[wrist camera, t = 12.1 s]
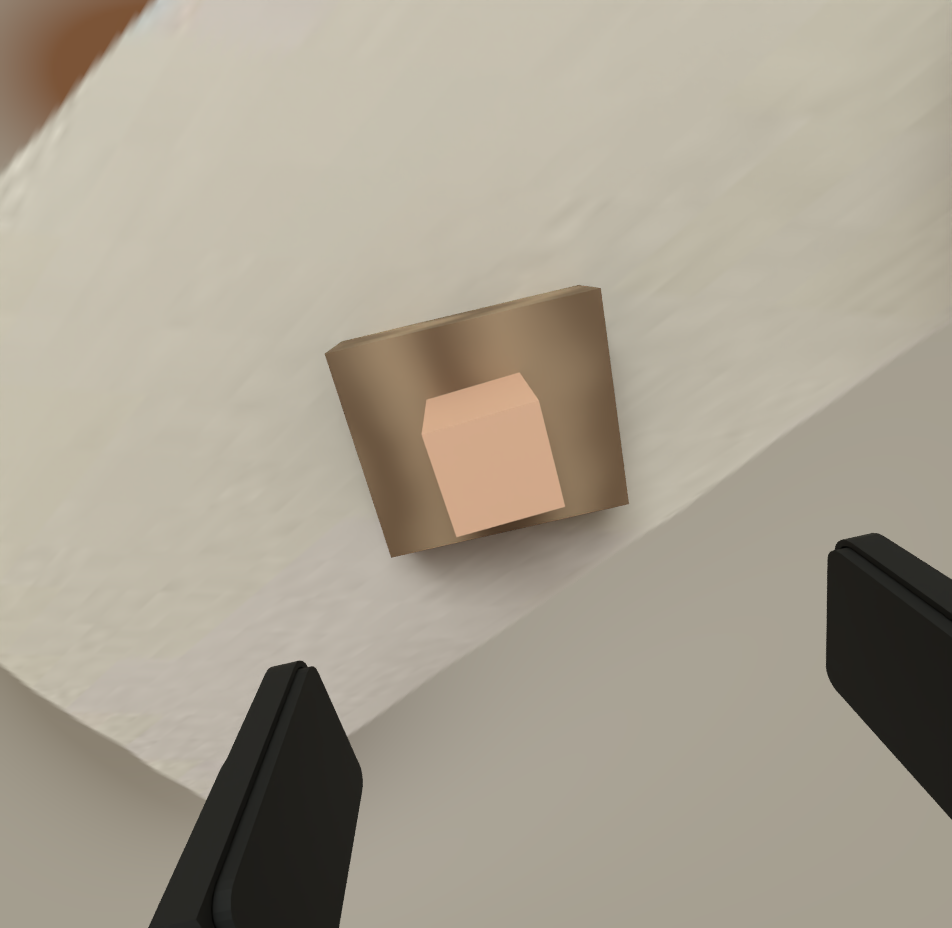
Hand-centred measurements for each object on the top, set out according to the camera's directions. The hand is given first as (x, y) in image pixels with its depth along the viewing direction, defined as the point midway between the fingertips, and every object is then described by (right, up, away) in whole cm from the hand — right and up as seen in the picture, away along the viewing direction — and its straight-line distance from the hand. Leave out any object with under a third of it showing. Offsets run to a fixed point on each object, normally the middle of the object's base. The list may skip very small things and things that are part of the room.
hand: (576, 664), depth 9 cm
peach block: (-1, +5, +18) cm, 19 cm away
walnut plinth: (-2, +7, +23) cm, 24 cm away
